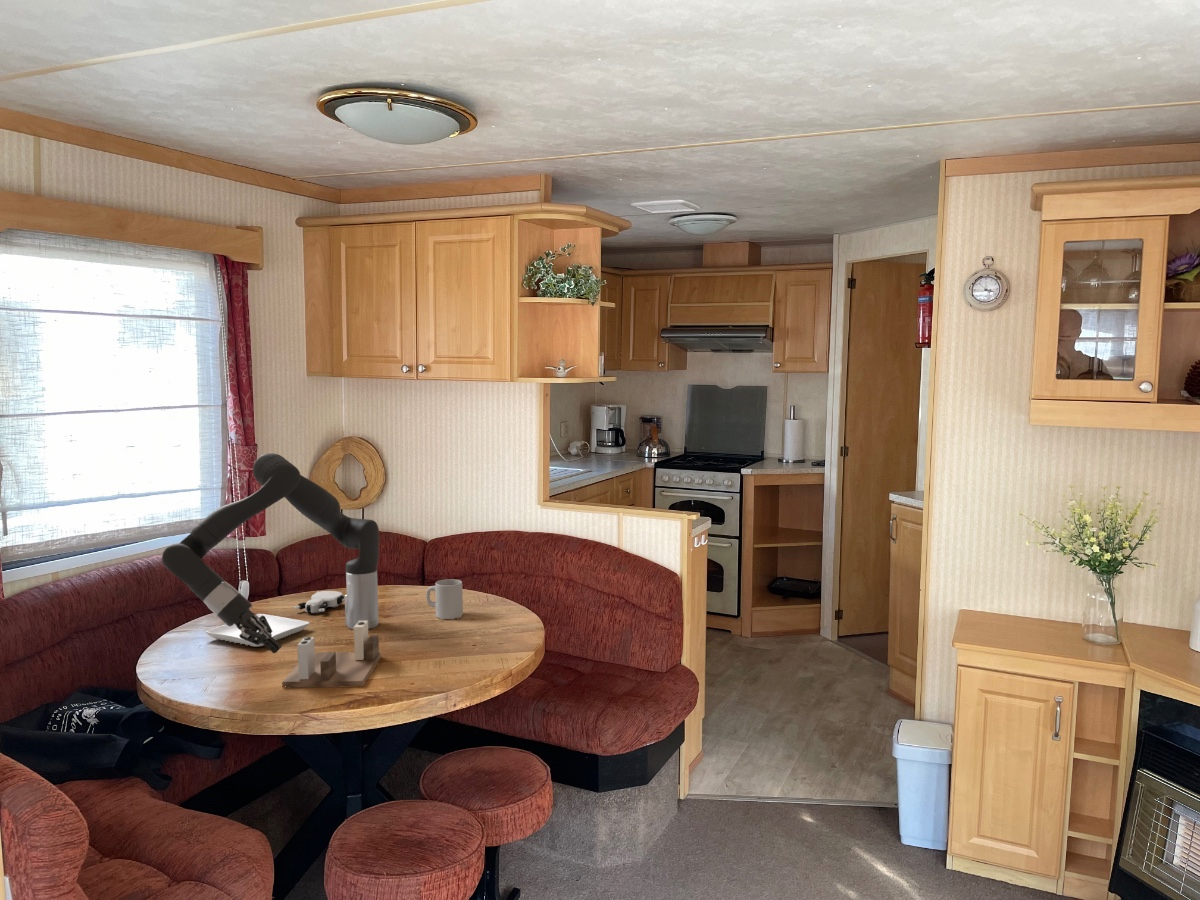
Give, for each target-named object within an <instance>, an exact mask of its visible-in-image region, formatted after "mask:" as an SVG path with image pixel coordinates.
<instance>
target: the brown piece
mask: <svg viewBox="0 0 1200 900" xmlns="http://www.w3.org/2000/svg"><path fill="white" fill-rule="evenodd" d="M379 643H380V642H379V634H371V635H370V636H368V640H367V641H366V643H365V652H366V657H365V659H364V660H355V652H354V651H350V652H349V651H347V652H345V651H344V652H343V651H341V652H340V651H338V652H337V651H328V652H315V672H314V673H313V674H312V675H311V677H310V678H309V679H299V672H298V663H297V664H296V665H295V667H294V668H293V669H292V670H291V671H290V672H289V673H288V674H287V676H286V677H284V679H283V680H282V681H281V682H282V683H281V684H282V687H285V686H286V687H290V688H344V687H343V686H363V687H364V686H365V684H366V682H367V681H366V680H368V679H369V677H370V676H371V674H372V673H371V672H373V671H374V670H373V669H375V668H376V666H377V665H378V663H379V662H380V660H381V658H382V652H381V651H380V649H379V648H380V647H379V646H380V644H379ZM379 659H380V660H379ZM378 661H379V662H378ZM377 662H378V663H377ZM376 664H377V665H376ZM374 667H375V668H374ZM372 670H373V671H372ZM370 673H371V674H370ZM369 675H370V676H369ZM367 678H368V679H367ZM365 681H366V682H365ZM364 683H365V684H364ZM340 686H342V687H340Z"/></svg>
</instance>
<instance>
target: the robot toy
mask: <svg viewBox="0 0 1200 900" xmlns="http://www.w3.org/2000/svg"><path fill="white" fill-rule="evenodd" d="M343 603H345V594H343V593H342V592H341V591H337V590H321V591H319V590H317V591H316V592H315V593H314V594H312V595H310V599H309V600H307V602H300V603H298V604H297V605H295V606H294V607H293V608H294V610H299V611H301V610H304V609H305V613H310V612H311V613H310V614H319V613H324V612H326V610H327V608H337V607H338V606H340V605H341V604H343Z"/></svg>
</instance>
